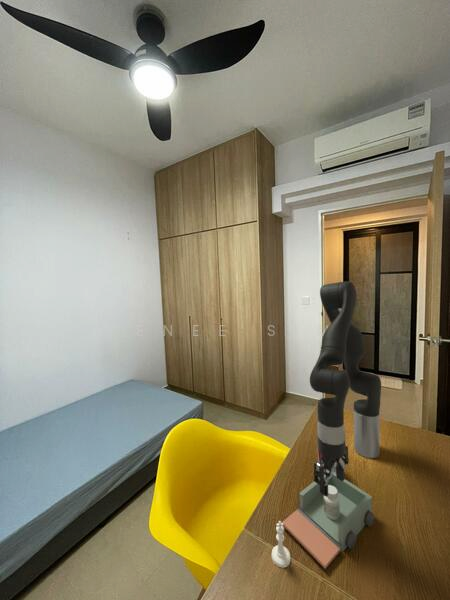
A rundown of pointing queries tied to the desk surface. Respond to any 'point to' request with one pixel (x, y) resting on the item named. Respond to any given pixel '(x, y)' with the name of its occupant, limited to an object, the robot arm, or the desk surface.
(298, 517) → the panel
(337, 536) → the truck bed
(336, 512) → the pill bottle
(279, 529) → the chess piece
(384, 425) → the desk surface
